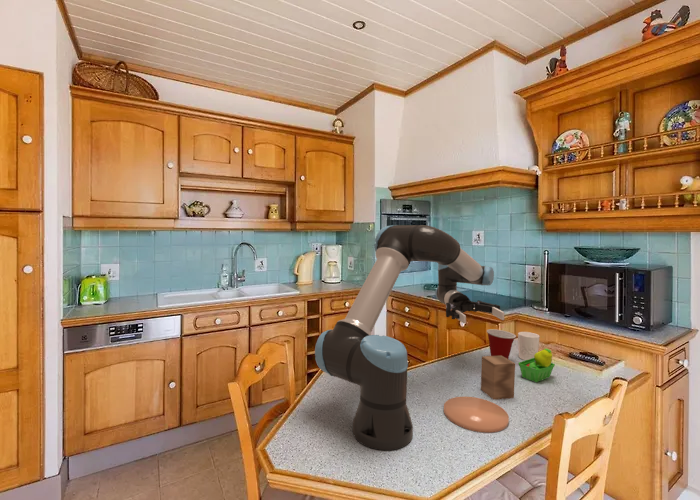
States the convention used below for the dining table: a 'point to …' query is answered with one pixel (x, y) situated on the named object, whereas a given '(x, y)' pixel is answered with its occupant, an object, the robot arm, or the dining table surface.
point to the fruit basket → (537, 366)
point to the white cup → (527, 345)
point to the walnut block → (497, 377)
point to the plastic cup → (500, 342)
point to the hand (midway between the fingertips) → (484, 318)
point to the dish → (476, 414)
